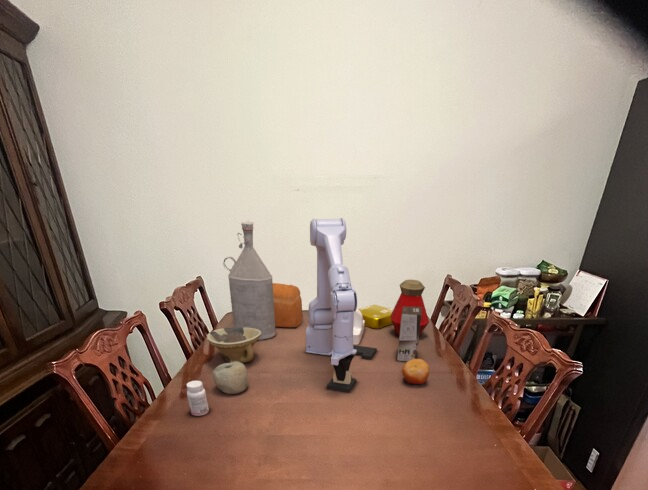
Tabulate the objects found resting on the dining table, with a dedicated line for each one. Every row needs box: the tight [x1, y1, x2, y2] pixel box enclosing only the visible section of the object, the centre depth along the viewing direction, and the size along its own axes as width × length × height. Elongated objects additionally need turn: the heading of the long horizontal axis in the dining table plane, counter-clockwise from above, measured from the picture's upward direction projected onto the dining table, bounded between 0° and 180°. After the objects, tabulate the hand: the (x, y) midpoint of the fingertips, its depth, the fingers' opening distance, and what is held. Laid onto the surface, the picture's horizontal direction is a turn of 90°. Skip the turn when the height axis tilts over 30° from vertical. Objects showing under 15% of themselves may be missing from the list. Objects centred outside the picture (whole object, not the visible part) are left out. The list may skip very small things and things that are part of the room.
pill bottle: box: [186, 380, 210, 417], centre depth 109 cm, size 5×5×8 cm
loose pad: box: [326, 369, 358, 393], centre depth 124 cm, size 7×9×5 cm
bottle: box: [390, 279, 430, 337], centre depth 157 cm, size 16×14×20 cm
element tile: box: [357, 304, 393, 330], centre depth 174 cm, size 15×15×5 cm
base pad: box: [353, 344, 378, 360], centre depth 146 cm, size 10×8×1 cm
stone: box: [211, 362, 249, 395], centre depth 121 cm, size 10×10×10 cm
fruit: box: [401, 358, 430, 385], centre depth 126 cm, size 8×8×8 cm
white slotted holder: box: [353, 308, 365, 346], centre depth 158 cm, size 10×18×11 cm, turn 169°
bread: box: [273, 282, 303, 328], centre depth 170 cm, size 14×26×16 cm, turn 79°
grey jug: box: [222, 220, 277, 341], centre depth 151 cm, size 13×17×40 cm
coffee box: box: [396, 306, 422, 362], centre depth 139 cm, size 9×6×16 cm
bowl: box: [206, 326, 261, 364], centre depth 139 cm, size 18×18×10 cm
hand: (342, 378), depth 124 cm, fingers closed on loose pad
